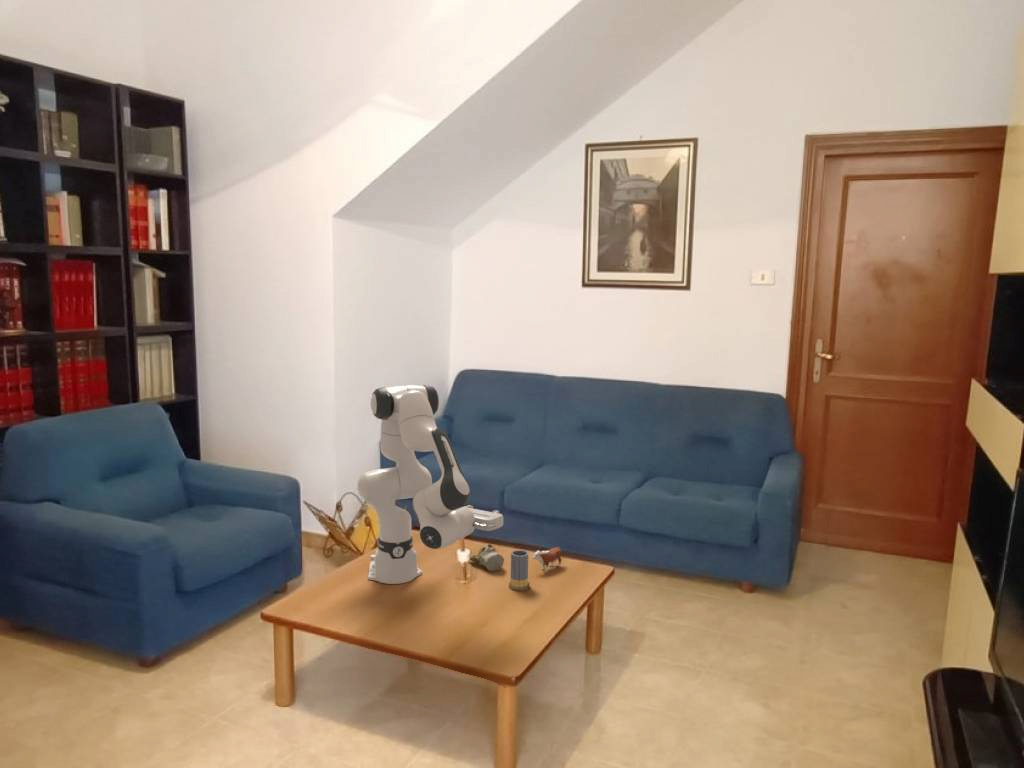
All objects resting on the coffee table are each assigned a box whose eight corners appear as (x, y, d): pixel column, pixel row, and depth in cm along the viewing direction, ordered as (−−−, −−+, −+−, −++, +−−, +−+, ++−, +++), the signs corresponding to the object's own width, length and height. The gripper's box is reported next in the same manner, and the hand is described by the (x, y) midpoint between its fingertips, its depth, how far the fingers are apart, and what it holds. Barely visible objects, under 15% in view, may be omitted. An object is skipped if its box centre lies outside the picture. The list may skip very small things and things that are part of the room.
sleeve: (507, 581, 265) (508, 551, 263) (524, 579, 266) (525, 549, 265) (513, 588, 259) (514, 557, 258) (530, 586, 261) (531, 555, 259)
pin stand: (506, 583, 265) (506, 562, 264) (525, 581, 267) (525, 560, 266) (512, 591, 259) (513, 570, 257) (532, 589, 261) (532, 568, 260)
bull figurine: (530, 572, 276) (530, 550, 275) (556, 563, 285) (557, 542, 284) (538, 576, 273) (539, 554, 271) (565, 566, 282) (565, 545, 280)
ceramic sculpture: (484, 551, 271) (466, 540, 284) (484, 575, 271) (466, 563, 284) (511, 547, 276) (492, 536, 289) (511, 571, 276) (492, 559, 289)
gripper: (490, 518, 225) (513, 506, 237) (432, 506, 235) (457, 495, 247) (490, 538, 226) (512, 525, 238) (432, 526, 235) (457, 514, 247)
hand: (484, 510), depth 242 cm, fingers open, 8 cm apart
